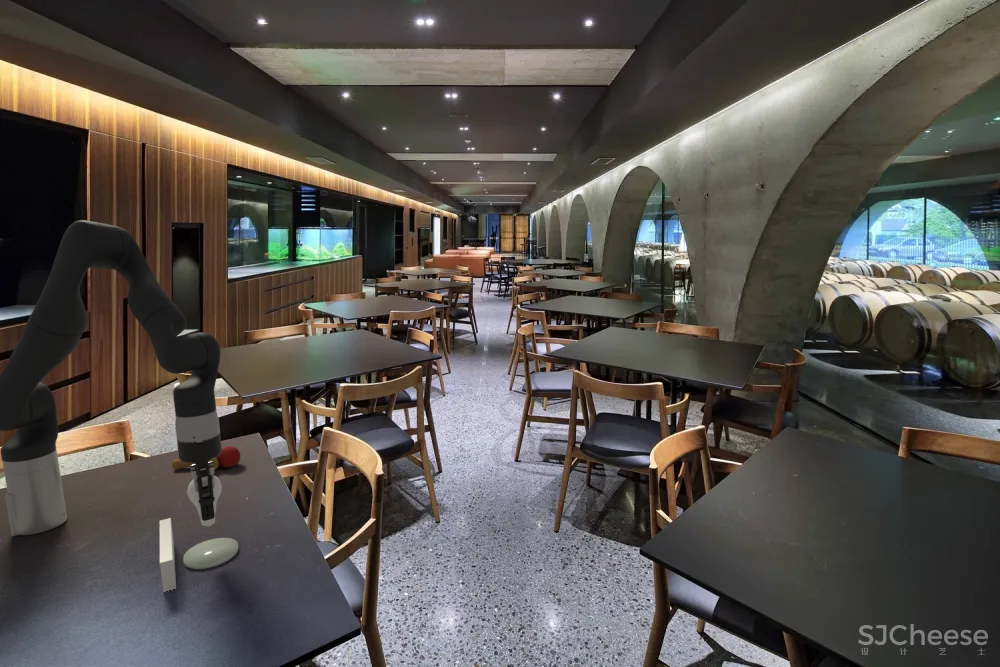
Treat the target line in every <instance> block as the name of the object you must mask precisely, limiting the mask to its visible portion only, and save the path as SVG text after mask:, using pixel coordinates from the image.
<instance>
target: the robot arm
mask: <svg viewBox="0 0 1000 667" xmlns="http://www.w3.org/2000/svg"><path fill="white" fill-rule="evenodd" d="M90 268H93V269H102V270H114V271H115V272H117V273H118V274H120V275H121V276H122V278H124V279H125V281H126V282H127V283H128V284H127V285H128V290H127V291H128V292H127V303H128V307H129V310H130V312H131V314H132V315H133V316H134V318H135V319H136V320H137V321H138V323H139V324H140V326H141V327H142V328H143V329H144V330H145V332H146V333H147V334H148V337H149V340H150V342H151V345H152V347H153V351H154V353H155V356H156V360H157V363H158V364H159V365H160V367H161V368H162V369H163V370H164V371H166V372H168V373H170V374H175V375H177V374H179V375H180V374H183V373H188V372H191V374H190V376H189V378H188V379H187V380H184V381H182V382H181V383H180V384H177V385H176V386H175V387H174V388H173V392H172V396H173V402H174V403H173V405H174V413H175V423H174V426H175V436H176V445H177V451H178V454H177V455H178V459H180V460H181V461H182V462H186V463H190V462H192V463H194V465H190V473H191V478H192V480H193V479H194V486H195V491H196V492H198V494H199V500H198V501H199V503H200V506H201V515H202V520H203V521H206V520H210V519H213V518H214V517H215V518H216V514H215V515H214V506H213V502H214V500H215V497H214V495H213V488H214V487H215V484H214V476H215V475H214V473H215V471H214V465H213V461H209V460H210V459H212V458H215V457H217V456H218V455H220V453H221V452H222V448H223V447H222V440H221V430H220V429H221V427H220V420H219V416H218V411H217V405H216V403H217V402H216V396H215V387H216V383H217V377H218V372H219V366H220V363H221V362H220V360H221V347H220V345H219V342H218V340H217V339H216V338H215V337H214V335H212V334H211V333H208V332H195V333H194V332H193V333H189V334H183V335H180V334H182V332H184V331H185V329H186V327H187V325H188V324H187V318H186V316H185V315H184V314H183V312H182V311H181V310H180V309H179V307H178V306H177V305H176V304H175V302H174V301H173V300H172V299H171V298H170V296H169V295H168V294H167V293H166V291H165V290H164V288H163V287H162V286H161V285H160V283H159V281H158V279H157V278H156V276H155V274H154V272H153V270H152V269H151V267H150V265H149V263H148V260H146V258H145V256H144V254H143V252H142V250H141V248H140V246H139V245H138V243H137V241H136V240H135V238H134V237H133V235H132V234H131V232H129V231H128V230H126V228H123V227H120V226H117V225H113V224H107V223H103V222H101V223H100V222H97V221H92V220H91V221H90V220H82V219H80V220H76V221H74V222H73V223H71V224H70V225H69V226H68V227H67V229H66V230H65V232H64V234H63V236H62V239H61V240H60V243H59V247H58V250H57V252H56V255H55V258H54V261H53V264H52V266H51V271H50V273H49V276H48V278H47V280H46V282H45V285H44V288H43V289H42V293H41V294H40V297H39V299H38V301H37V303H36V305H35V306H34V308H33V310H32V312H31V314H30V316H29V318H28V320H27V322H26V323H25V325H24V328H23V331H22V333H21V336H20V338H19V340H18V342H17V344H16V346H15V347H14V349H13V351H12V353H11V355H10V357H9V358H8V361H7V363H6V365H5V366H4V368H3V370H2V371H1V373H0V432H8V431H14V430H16V432H14V434H13V436H12V437H10V439H8V440H7V441H6V442H5V443H4V444H2V446H1V448H0V457H1V463H2V468H3V473H4V479H5V485H6V486H5V487H6V494H5V497H4V499H5V504H6V509H7V510H6V511H7V516H8V522H9V526H10V527H9V528H10V531H11V536H12V537H16V536H31V535H36V534H40V533H44V532H47V531H50V530H53V529H55V528H58V527H59V526H61V525H62V524H64V523H65V522H66V521H67V519H68V516H67V508H66V502H65V495H64V490H63V483H62V476H61V471H60V470H61V469H60V465H59V464H60V463H59V458H58V451H57V445H56V444H57V439H58V437H59V427H58V425H59V424H58V416H57V406H56V405H57V404H56V401H55V396H54V394H53V392H52V391H51V389H50V388H49V387H48V386H47V385H46V384H44V383H42V382H41V381H42V380H44V378H46V377H47V375H49V373H51V372H52V371H53V370H54V369H55V368H57V367H58V366H59V365H60V364H61V363H62V362H64V360H66V359H67V357H69V355H71V354H72V352H73V351H74V349H75V348H76V347H77V345H78V343H79V341H80V339H81V337H82V336H83V333H84V332H85V330H86V327H87V324H88V315H87V311H86V308H85V305H84V302H83V299H82V297H81V292H80V291H81V290H80V289H81V284H82V282H83V279H84V276H85V275H86V274H87V271H89V269H90ZM213 475H214V476H213ZM197 483H198V485H197ZM206 493H210V496H205V497H202V495H203V494H206Z"/></svg>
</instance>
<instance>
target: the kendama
mask: <svg viewBox="0 0 1000 667" xmlns="http://www.w3.org/2000/svg"><path fill="white" fill-rule="evenodd" d="M209 461H213V465H214V470H215V471H216V470H217V469H218V468H219V466H221V467H224V468H232V466H233V467H235V466H236V465H237V464H239V463H240V461H241V452H240V450H239V449H238V447H235V446H232V445H231V446H230V445H229V446H225V447H222V452H221V453H220V455H218V456H217V457H215V458H212V459H210V460H209ZM171 465H172V466H171V467H172V469H173V470H174V471H177V470H181V469H185V468H189V467H190V468H191V466H190V465H194V463H192V462H190V463H186V462H182V461H181V460H180V459H179V458H175V459H173V460H172V463H171Z"/></svg>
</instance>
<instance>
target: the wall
mask: <svg viewBox="0 0 1000 667" xmlns="http://www.w3.org/2000/svg"><path fill="white" fill-rule="evenodd" d="M175 556H176V555H175V542H174V534H173V526H172V518H171V517H169V518H166V519H162V520H159V568H160V569H159V570H160V575H161V576H160V577H161V583H162V584H161V585H162V590H163V592H165V593H167V592H166V591H168V592H170V591H169V590H171V591H174V590H173V589H175V590H177V581H176V576H177V575H176V562H175V561H176V558H175Z"/></svg>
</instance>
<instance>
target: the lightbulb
mask: <svg viewBox="0 0 1000 667" xmlns="http://www.w3.org/2000/svg"><path fill="white" fill-rule="evenodd" d="M213 476H214V484H215V487H214V488H213V495H214V497H215V500H214V502H213V506H214V515H215V517H214V518H213V519H210V520H206V521H203V520H202V515H201V506H200V503H199V501H198V500H199V494H198V492H196V491H195V486H194V479H193V478H192V480H191V481H190V482H189V484H188V487H187V491H186V492H187V493H186V495H187V497H188V499H189V500H190V502H191V503H192V504H193V505H194V506H195V508H196V511H197V514H198V516H199V518H200V519H199V520H200V524H201V526H204V527H211V526H213V524H214V523H215V522H216V513H217V502H218V500H219V498H220V496H221V494H222V489H223V487H222V482H221V480H220V479H219V478H218V476H216V475H214V474H213ZM197 485H198V483H197ZM205 496H210V493H206V494H203V495H202V497H205Z"/></svg>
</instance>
